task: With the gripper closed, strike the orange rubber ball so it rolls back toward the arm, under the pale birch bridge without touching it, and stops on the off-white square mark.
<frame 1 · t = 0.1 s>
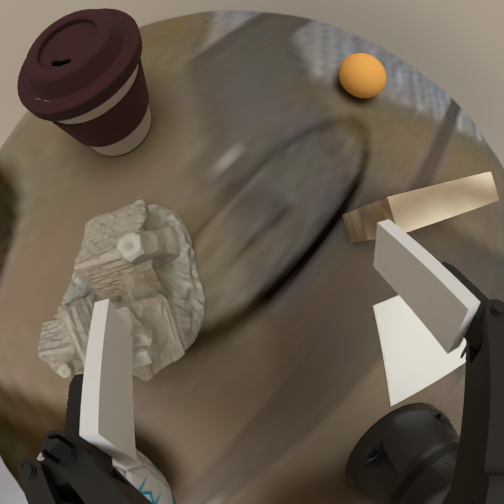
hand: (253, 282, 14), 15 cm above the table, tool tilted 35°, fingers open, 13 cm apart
bridge: (400, 213, 32), on the table
puzzle ball: (118, 463, 27), on the table
ball: (362, 75, 29), on the table
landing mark: (426, 337, 32), on the table
coffee cup: (120, 126, 29), on the table
ceramic cottage: (126, 291, 29), on the table
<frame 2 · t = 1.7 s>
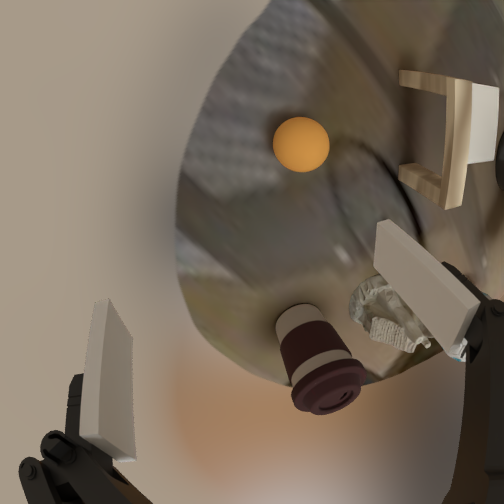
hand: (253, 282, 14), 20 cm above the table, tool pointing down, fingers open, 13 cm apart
bridge: (408, 125, 33), on the table
ball: (301, 144, 29), on the table
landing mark: (476, 123, 34), on the table
coffee cup: (297, 319, 46), on the table
ceramic cottage: (385, 302, 50), on the table
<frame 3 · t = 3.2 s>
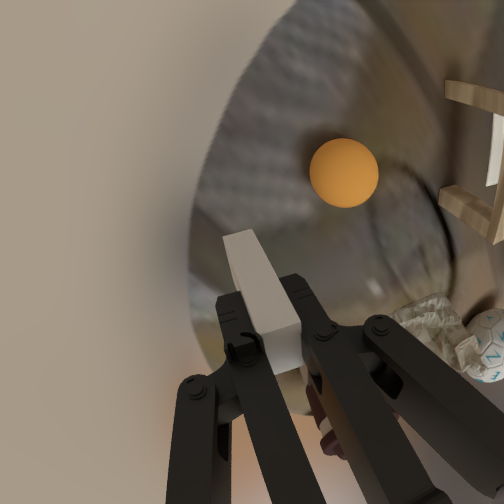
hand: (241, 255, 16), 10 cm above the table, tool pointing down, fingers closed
bridge: (452, 143, 27), on the table
puzzle ball: (471, 321, 52), on the table
ball: (344, 172, 23), on the table
coffee cup: (322, 355, 41), on the table
ceramic cottage: (409, 330, 45), on the table
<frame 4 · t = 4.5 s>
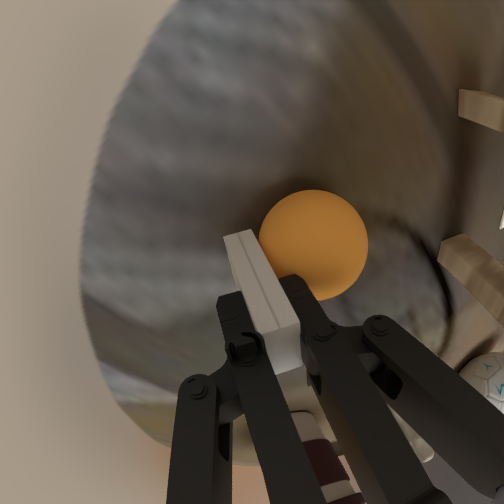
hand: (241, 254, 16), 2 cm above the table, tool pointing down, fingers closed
bridge: (463, 180, 19), on the table
puzzle ball: (467, 364, 44), on the table
ball: (313, 245, 15), on the table, touching gripper
coffee cup: (284, 423, 33), on the table
ceramic cottage: (390, 389, 37), on the table
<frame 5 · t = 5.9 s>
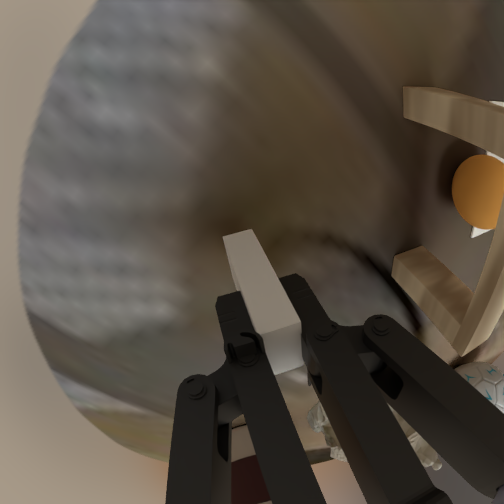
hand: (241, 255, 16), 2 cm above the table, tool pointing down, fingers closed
bridge: (416, 189, 19), on the table
puzzle ball: (449, 373, 44), on the table
ball: (484, 191, 17), on the table
coffee cup: (245, 433, 33), on the table
ceramic cottage: (358, 403, 37), on the table
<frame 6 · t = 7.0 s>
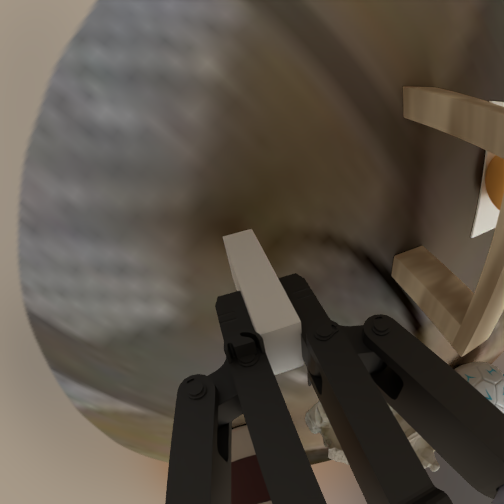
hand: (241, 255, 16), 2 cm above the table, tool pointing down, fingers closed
bridge: (416, 189, 19), on the table
puzzle ball: (449, 373, 44), on the table
coffee cup: (245, 433, 33), on the table
ceramic cottage: (356, 404, 37), on the table
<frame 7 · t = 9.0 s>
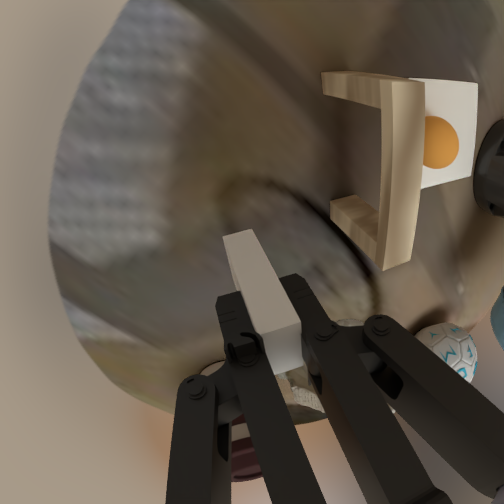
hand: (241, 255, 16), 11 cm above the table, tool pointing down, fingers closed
bridge: (341, 147, 27), on the table
puzzle ball: (418, 335, 52), on the table
ball: (434, 142, 26), on the table
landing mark: (445, 133, 29), on the table
coffee cup: (223, 373, 40), on the table
ceramic cottage: (321, 355, 45), on the table
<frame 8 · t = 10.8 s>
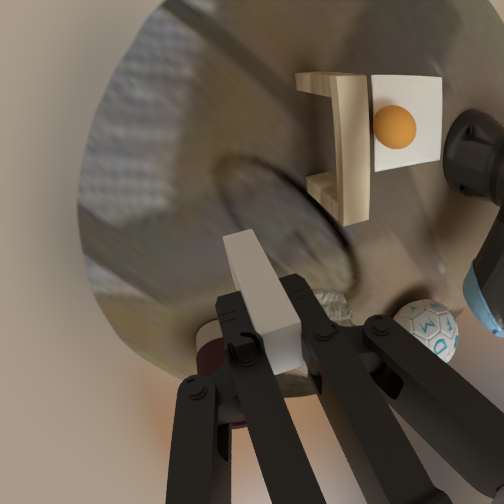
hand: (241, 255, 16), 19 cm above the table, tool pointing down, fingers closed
bridge: (313, 132, 33), on the table
puzzle ball: (402, 312, 58), on the table
ball: (394, 127, 32), on the table
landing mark: (410, 121, 35), on the table
coffee cup: (218, 333, 47), on the table
ceramic cottage: (305, 324, 51), on the table
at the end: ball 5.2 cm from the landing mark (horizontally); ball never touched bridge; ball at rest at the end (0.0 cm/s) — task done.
